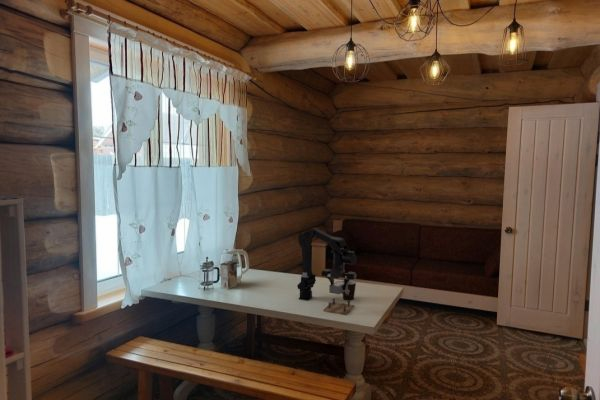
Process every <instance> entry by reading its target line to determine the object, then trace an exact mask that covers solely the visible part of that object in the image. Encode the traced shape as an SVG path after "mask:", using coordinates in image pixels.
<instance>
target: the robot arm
mask: <svg viewBox="0 0 600 400" xmlns="http://www.w3.org/2000/svg"><path fill="white" fill-rule="evenodd" d="M314 238H317V239H318V240H321V241H322V242H324V243H327V244H328V245H329V247H330V248H331V249H332V250H330V253H331V254H333V264H332V267H331V268H325V269H323V270H322V271H321V276H322V277H325V278H326V279H328V281H329V282H330V285H331V284H333V283H335V279H339V278H340V277H345V278H344V279H343V281H344V290H345V289H346V287H347V284H348V282H349V280H352V281H355V279H356V278H357V272H356V271H348V272H346V270H345V264H349V265H356V264H357V262H358V257H357V254H356V252H355V251H351V250H350V248H349V246H348V244H347V241H346V240H345V239H344V238H343V237H339V236H332V235H330V234H329V233H327V232H325V231H323V230H321V229H319V228H318V227H314V228H310V229H309V230H307V231H305V232H302V233H299V234H298V235H297V241H298V244H299V246H300V247H301V248H300V249H301V257H302V259H301V261H302V274H301V276H300V282H299V283H298V284H297V286H296V287H297V289H298V290H299V297H298V300H304V301H310V300H311V299H312V298H313V291H312V288H314V286H315V284H316V281H317V280H316V273H315V274H314V273H313V271H312V259H311V246H312V244H313V239H314Z"/></svg>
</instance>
